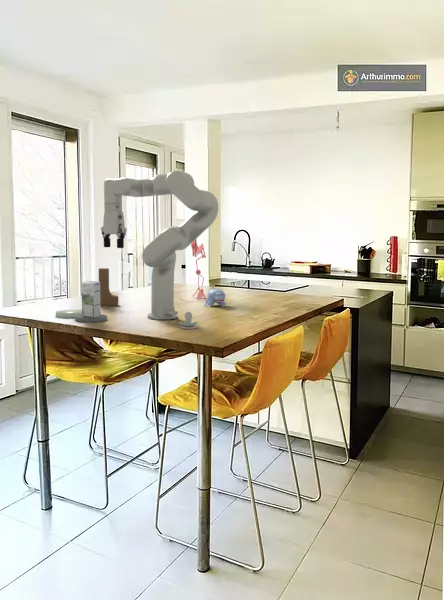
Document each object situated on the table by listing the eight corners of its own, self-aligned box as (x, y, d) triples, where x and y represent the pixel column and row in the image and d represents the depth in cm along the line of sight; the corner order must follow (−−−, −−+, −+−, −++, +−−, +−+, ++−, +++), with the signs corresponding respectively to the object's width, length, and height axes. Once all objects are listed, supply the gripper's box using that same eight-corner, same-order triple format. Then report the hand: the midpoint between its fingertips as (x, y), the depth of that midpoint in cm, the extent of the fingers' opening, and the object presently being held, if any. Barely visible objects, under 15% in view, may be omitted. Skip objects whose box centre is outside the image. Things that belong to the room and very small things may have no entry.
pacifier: (198, 330, 205) (196, 326, 210) (198, 314, 203) (197, 311, 209) (179, 330, 203) (178, 326, 209) (179, 314, 202) (178, 311, 208)
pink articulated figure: (202, 295, 303) (202, 233, 298) (211, 302, 278) (210, 235, 273) (175, 296, 300) (174, 234, 295) (182, 303, 275) (181, 235, 270)
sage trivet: (89, 317, 228) (89, 312, 228) (64, 319, 220) (63, 315, 219) (76, 313, 237) (76, 308, 236) (50, 315, 228) (50, 311, 228)
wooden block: (118, 304, 262) (118, 268, 260) (117, 306, 258) (117, 269, 255) (99, 304, 261) (99, 268, 259) (98, 305, 257) (98, 268, 254)
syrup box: (101, 315, 221) (100, 281, 219) (94, 318, 216) (93, 282, 214) (89, 314, 223) (88, 280, 221) (81, 317, 217) (80, 281, 215)
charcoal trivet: (113, 321, 221) (113, 316, 221) (89, 325, 211) (89, 320, 210) (92, 317, 229) (92, 312, 228) (68, 321, 218) (68, 316, 218)
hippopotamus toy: (210, 308, 256) (210, 289, 255) (202, 304, 270) (202, 285, 269) (231, 308, 259) (231, 289, 258) (222, 304, 273) (222, 285, 272)
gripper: (132, 208, 227) (132, 248, 230) (108, 208, 239) (109, 246, 241) (118, 207, 222) (118, 248, 224) (94, 208, 234) (95, 247, 236)
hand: (113, 247), depth 233 cm, fingers open, 9 cm apart
